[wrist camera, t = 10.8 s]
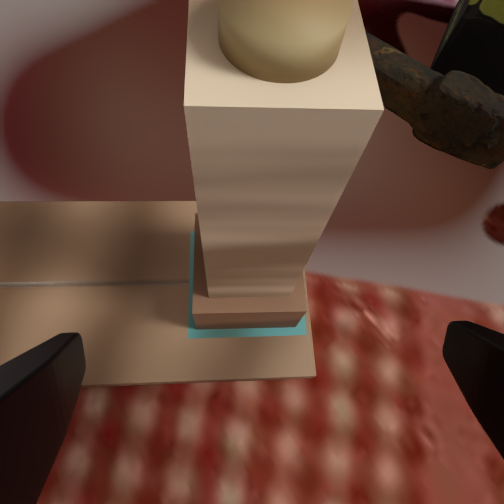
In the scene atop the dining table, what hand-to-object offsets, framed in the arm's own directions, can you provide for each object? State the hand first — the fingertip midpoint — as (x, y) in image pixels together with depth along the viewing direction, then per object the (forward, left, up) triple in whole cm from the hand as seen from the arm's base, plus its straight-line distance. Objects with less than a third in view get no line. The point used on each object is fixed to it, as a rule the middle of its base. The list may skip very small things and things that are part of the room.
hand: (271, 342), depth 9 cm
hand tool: (+22, +6, -11) cm, 26 cm away
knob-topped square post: (+4, +3, -10) cm, 11 cm away
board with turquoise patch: (-1, +8, -11) cm, 14 cm away
